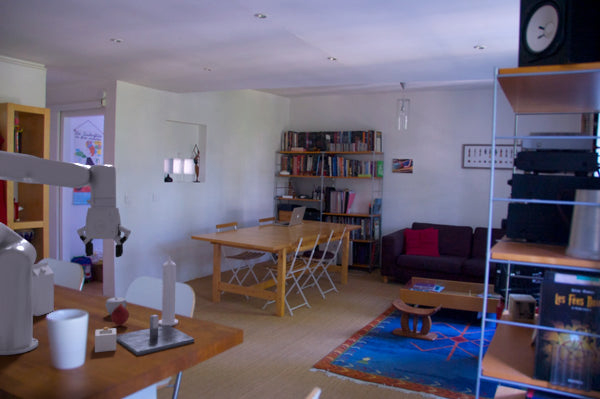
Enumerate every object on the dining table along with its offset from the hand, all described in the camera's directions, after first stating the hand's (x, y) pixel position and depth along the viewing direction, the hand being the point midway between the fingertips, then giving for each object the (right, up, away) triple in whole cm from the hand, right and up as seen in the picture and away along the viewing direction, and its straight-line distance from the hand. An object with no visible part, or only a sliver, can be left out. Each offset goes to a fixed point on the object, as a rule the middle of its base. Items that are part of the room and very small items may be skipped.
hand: (104, 256), depth 152 cm
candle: (+15, -27, +20) cm, 37 cm away
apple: (-7, -26, +28) cm, 39 cm away
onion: (-1, -27, +15) cm, 31 cm away
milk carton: (-36, -25, +28) cm, 52 cm away
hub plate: (+16, -28, +2) cm, 32 cm away
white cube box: (+3, -28, -6) cm, 29 cm away
